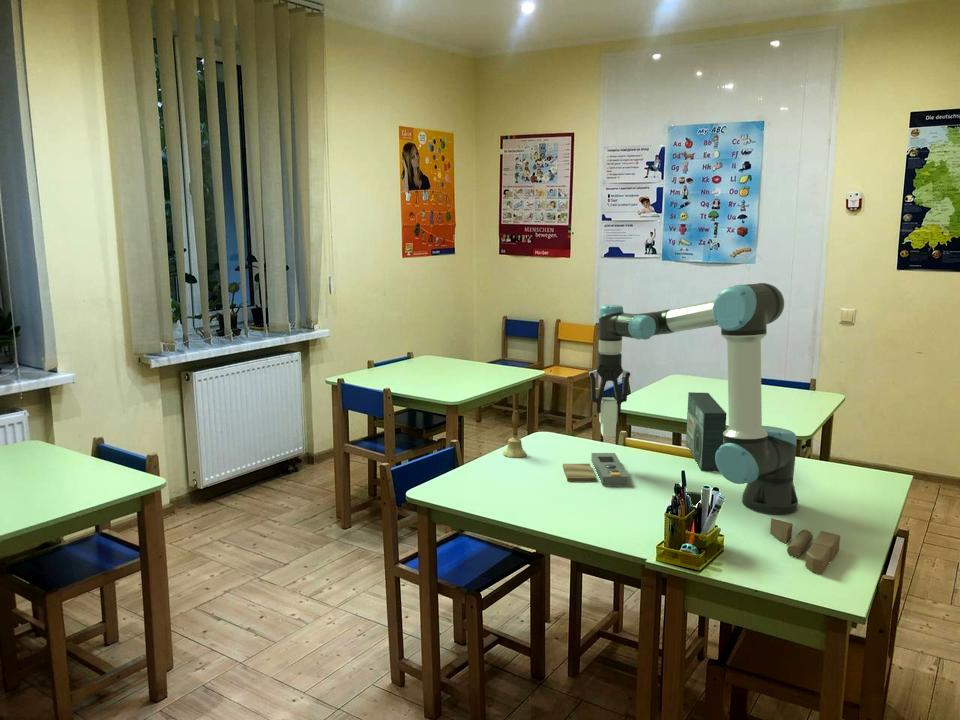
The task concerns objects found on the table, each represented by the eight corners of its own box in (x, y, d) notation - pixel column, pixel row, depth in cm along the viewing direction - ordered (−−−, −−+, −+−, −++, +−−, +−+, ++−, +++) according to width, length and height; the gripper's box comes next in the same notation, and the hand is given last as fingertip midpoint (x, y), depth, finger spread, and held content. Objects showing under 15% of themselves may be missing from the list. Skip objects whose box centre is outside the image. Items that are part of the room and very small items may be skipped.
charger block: (615, 436, 245) (616, 400, 243) (603, 436, 245) (603, 401, 243) (612, 432, 250) (613, 397, 247) (600, 432, 250) (601, 397, 247)
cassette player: (685, 445, 275) (688, 392, 271) (705, 445, 274) (708, 392, 271) (701, 471, 246) (704, 412, 243) (722, 472, 246) (726, 413, 242)
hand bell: (520, 449, 270) (520, 406, 267) (530, 456, 262) (530, 412, 259) (499, 452, 267) (499, 409, 264) (508, 459, 259) (508, 414, 256)
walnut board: (595, 481, 237) (596, 477, 237) (567, 481, 237) (567, 477, 237) (589, 467, 251) (589, 463, 250) (562, 467, 251) (562, 463, 250)
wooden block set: (841, 529, 188) (824, 555, 173) (839, 550, 189) (822, 577, 175) (772, 513, 198) (750, 536, 183) (770, 533, 199) (749, 557, 185)
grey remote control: (628, 485, 233) (628, 474, 232) (602, 485, 233) (603, 474, 232) (614, 461, 256) (614, 450, 256) (591, 461, 256) (591, 450, 256)
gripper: (633, 350, 246) (631, 419, 250) (582, 350, 246) (580, 419, 250) (638, 354, 239) (636, 425, 243) (585, 354, 239) (583, 425, 243)
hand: (608, 422), depth 246 cm, fingers closed on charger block, 4 cm apart
